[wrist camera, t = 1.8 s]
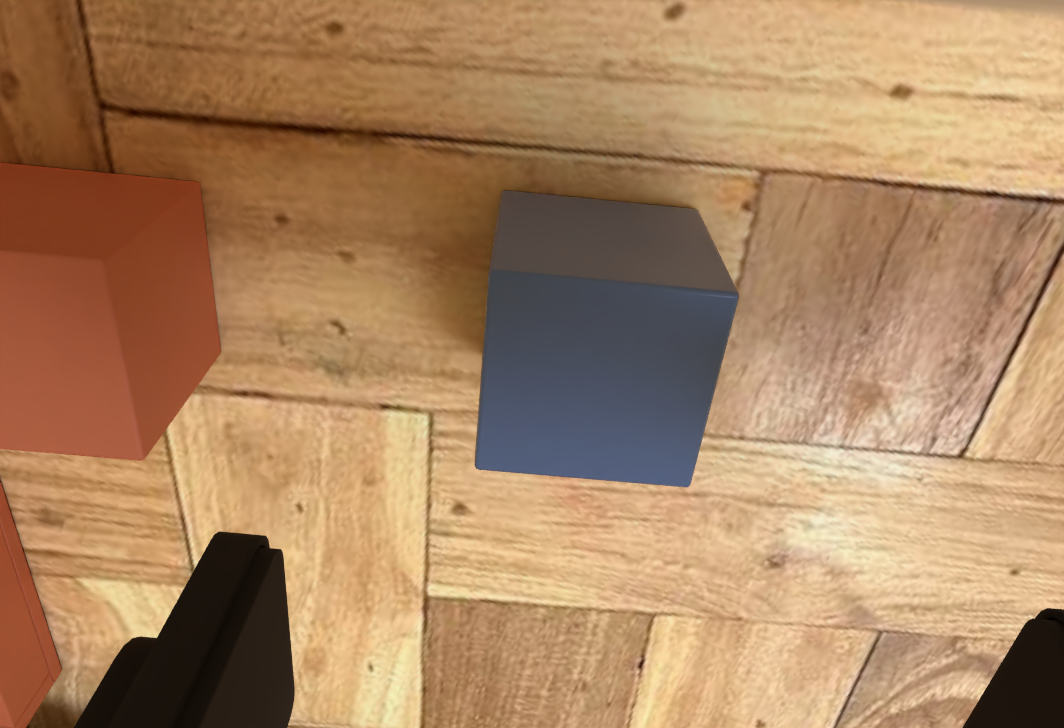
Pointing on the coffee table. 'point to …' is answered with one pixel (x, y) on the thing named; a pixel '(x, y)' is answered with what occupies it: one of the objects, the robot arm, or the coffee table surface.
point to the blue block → (600, 339)
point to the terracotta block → (100, 309)
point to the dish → (21, 633)
